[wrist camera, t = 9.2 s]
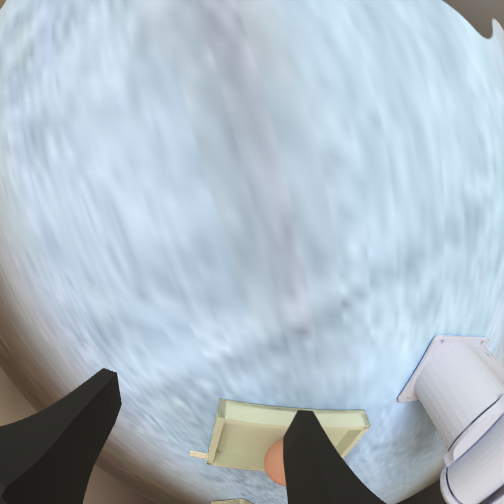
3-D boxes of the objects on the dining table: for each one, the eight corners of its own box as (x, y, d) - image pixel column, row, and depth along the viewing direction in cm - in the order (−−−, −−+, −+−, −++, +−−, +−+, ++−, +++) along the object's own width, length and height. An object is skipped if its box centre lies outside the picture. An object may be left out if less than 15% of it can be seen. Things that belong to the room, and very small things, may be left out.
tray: (364, 409, 22) (370, 425, 19) (328, 456, 24) (331, 470, 22) (219, 398, 21) (217, 417, 19) (208, 448, 24) (206, 463, 22)
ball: (318, 426, 23) (342, 465, 18) (286, 455, 23) (305, 492, 18) (278, 423, 21) (302, 470, 16) (246, 454, 21) (263, 497, 16)
